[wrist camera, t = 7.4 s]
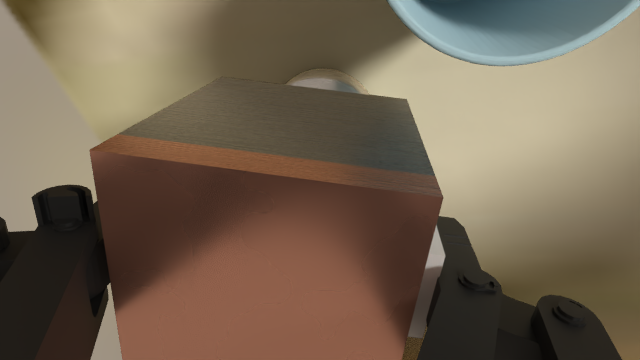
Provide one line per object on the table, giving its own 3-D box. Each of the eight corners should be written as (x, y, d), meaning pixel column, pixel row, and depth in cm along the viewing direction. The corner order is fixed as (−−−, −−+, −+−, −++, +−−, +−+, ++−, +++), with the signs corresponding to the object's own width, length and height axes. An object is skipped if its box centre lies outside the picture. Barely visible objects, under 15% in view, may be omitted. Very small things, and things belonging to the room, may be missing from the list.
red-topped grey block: (222, 232, 18) (127, 388, 11) (221, 76, 15) (89, 149, 8) (376, 254, 18) (383, 431, 11) (406, 99, 15) (443, 197, 8)
